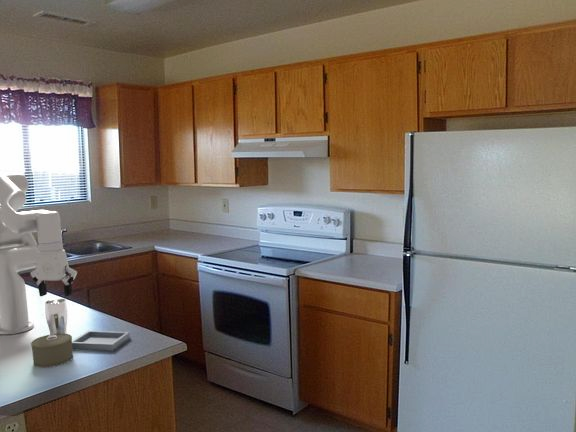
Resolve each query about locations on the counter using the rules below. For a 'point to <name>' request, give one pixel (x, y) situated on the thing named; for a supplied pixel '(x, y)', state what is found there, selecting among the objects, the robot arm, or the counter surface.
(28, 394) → the counter surface
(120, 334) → the tray
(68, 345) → the can
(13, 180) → the robot arm
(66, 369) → the counter surface
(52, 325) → the beer glass
